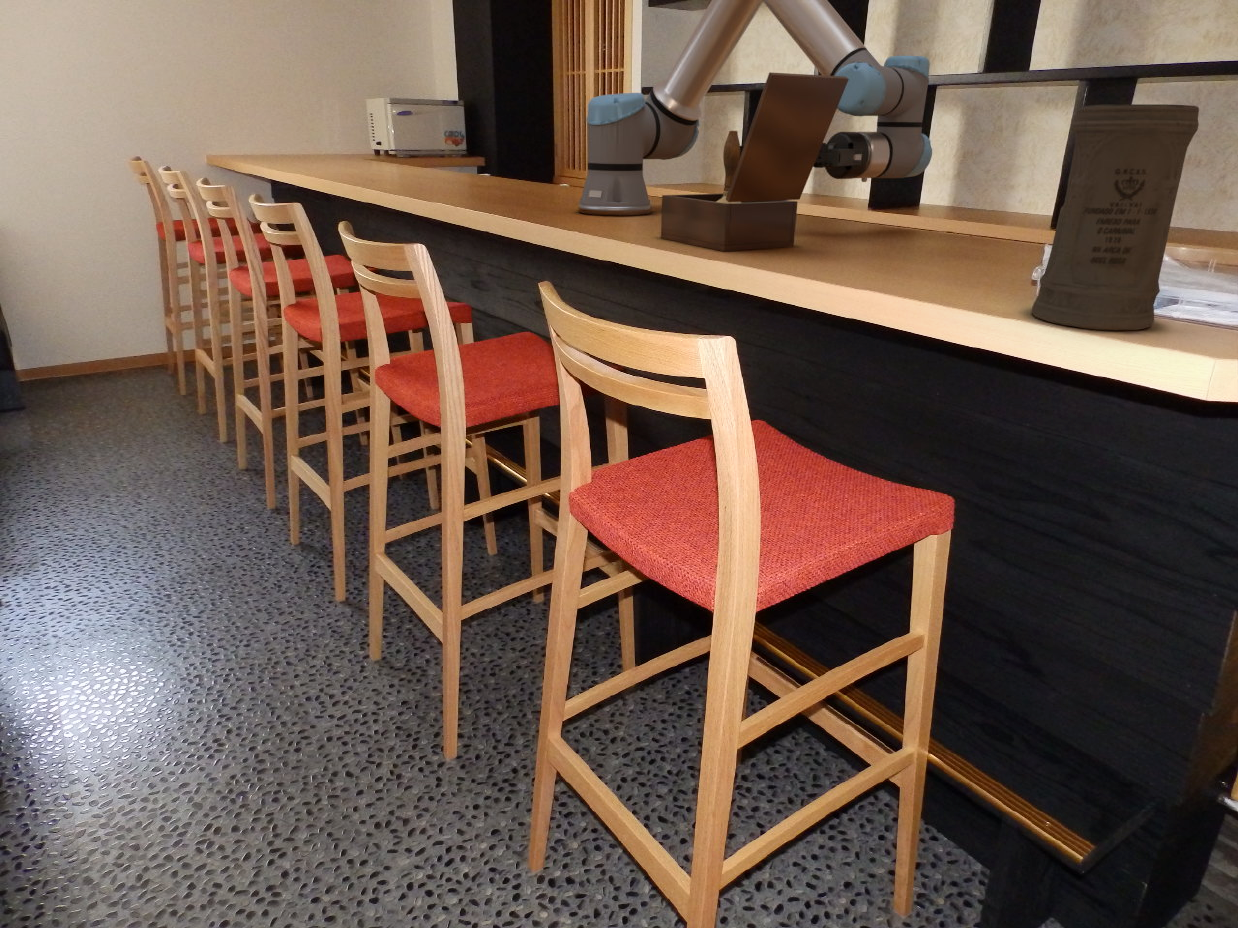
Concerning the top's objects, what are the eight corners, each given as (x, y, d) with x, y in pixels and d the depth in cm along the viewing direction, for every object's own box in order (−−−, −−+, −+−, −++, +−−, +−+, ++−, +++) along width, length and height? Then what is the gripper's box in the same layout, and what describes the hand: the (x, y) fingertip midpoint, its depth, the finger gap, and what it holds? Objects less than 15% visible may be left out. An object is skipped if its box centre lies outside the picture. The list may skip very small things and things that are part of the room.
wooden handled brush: (699, 233, 139) (704, 130, 133) (749, 234, 139) (756, 131, 133) (702, 240, 132) (707, 130, 126) (755, 240, 131) (763, 131, 125)
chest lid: (769, 72, 110) (772, 75, 110) (845, 76, 117) (849, 79, 116) (725, 199, 123) (728, 202, 123) (796, 197, 129) (799, 199, 129)
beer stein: (1174, 335, 77) (1230, 99, 71) (1048, 328, 79) (1092, 97, 73) (1115, 314, 91) (1157, 115, 85) (1010, 308, 93) (1043, 114, 87)
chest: (660, 238, 140) (662, 195, 137) (726, 234, 146) (729, 193, 143) (723, 251, 125) (726, 204, 123) (793, 246, 132) (797, 201, 129)
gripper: (907, 183, 134) (806, 185, 125) (803, 175, 155) (709, 176, 145) (914, 133, 132) (811, 131, 122) (807, 131, 152) (711, 129, 142)
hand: (755, 156), depth 133 cm, fingers open, 13 cm apart
